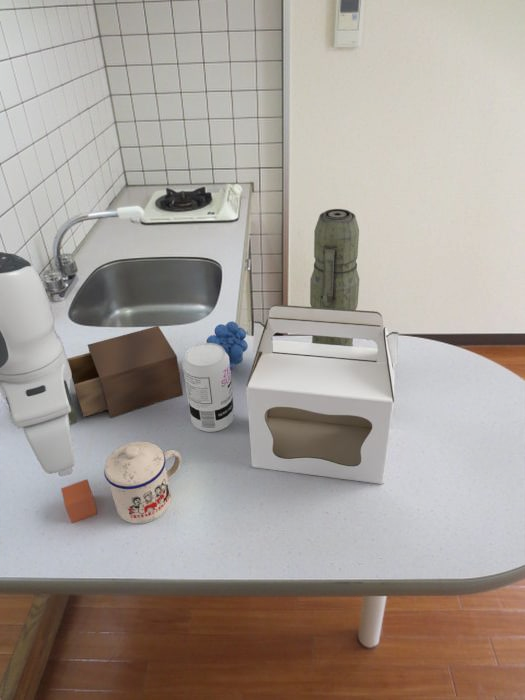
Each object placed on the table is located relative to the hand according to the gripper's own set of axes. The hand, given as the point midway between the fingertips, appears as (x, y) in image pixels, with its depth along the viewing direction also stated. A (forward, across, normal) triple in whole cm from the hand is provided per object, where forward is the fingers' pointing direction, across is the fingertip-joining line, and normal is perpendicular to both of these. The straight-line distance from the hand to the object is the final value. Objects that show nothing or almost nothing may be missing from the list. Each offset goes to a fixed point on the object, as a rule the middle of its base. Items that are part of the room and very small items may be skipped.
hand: (61, 449), depth 75 cm
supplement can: (+13, -10, +26) cm, 31 cm away
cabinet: (+13, -26, +16) cm, 33 cm away
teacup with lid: (+13, +3, +11) cm, 17 cm away
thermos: (+13, -10, +52) cm, 55 cm away
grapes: (+13, -22, +35) cm, 43 cm away
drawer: (+12, -26, +6) cm, 29 cm away
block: (+13, 0, 0) cm, 13 cm away
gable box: (+13, +6, +40) cm, 43 cm away
